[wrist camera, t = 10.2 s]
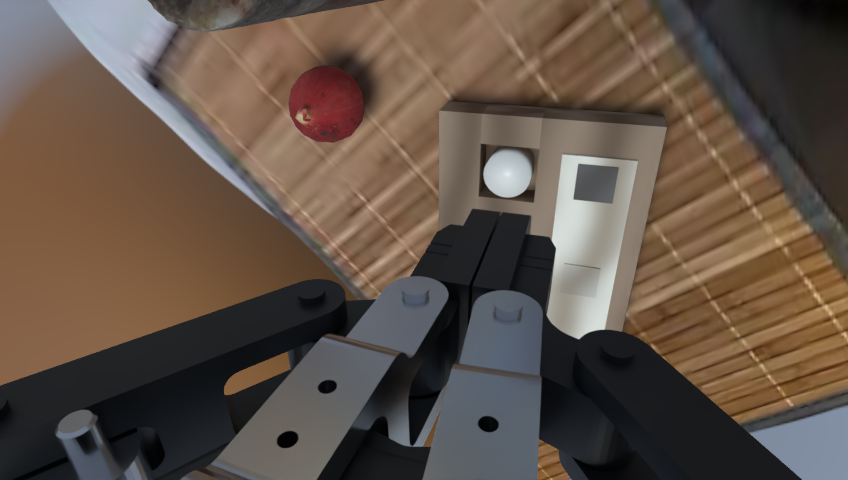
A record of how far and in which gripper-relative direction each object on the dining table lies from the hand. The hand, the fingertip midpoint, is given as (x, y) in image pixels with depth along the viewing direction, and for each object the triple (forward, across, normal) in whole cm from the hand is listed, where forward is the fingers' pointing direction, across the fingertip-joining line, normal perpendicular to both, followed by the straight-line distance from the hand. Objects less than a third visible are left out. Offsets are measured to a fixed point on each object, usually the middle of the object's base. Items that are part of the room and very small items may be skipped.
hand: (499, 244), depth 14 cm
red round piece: (+29, +18, +4) cm, 35 cm away
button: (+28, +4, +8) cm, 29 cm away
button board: (+29, +1, +17) cm, 34 cm away
